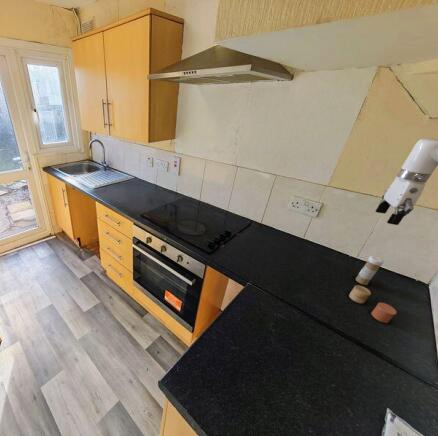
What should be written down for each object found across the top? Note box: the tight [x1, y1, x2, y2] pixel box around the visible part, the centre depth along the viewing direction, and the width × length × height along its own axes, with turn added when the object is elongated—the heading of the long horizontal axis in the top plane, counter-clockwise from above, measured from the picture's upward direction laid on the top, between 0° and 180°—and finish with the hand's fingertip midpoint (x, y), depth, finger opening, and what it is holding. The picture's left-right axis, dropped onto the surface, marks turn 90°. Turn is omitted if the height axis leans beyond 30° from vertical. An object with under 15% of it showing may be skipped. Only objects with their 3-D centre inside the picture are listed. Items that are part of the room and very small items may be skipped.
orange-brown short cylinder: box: [370, 302, 397, 324], centre depth 85 cm, size 5×5×5 cm
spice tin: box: [348, 284, 372, 304], centre depth 93 cm, size 5×5×5 cm
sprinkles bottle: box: [355, 255, 385, 286], centre depth 100 cm, size 5×5×14 cm
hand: (385, 218), depth 88 cm, fingers open, 9 cm apart
